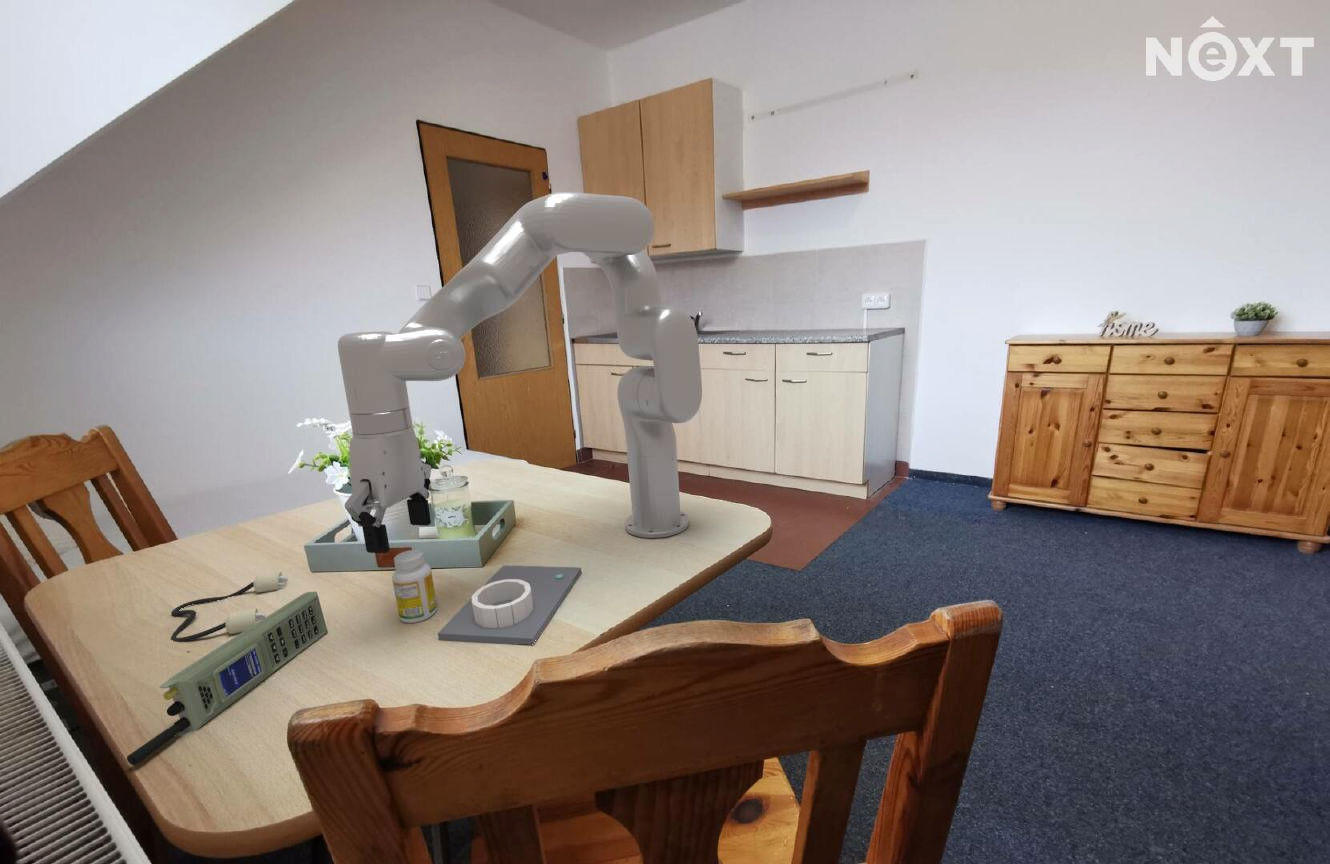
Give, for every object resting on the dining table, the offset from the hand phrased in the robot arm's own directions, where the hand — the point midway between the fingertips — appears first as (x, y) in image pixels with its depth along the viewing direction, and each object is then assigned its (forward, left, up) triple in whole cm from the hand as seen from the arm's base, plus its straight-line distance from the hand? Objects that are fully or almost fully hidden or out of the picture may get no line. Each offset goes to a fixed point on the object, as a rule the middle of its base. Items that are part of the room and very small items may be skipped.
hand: (400, 537), depth 82 cm
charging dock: (-4, +14, -13) cm, 20 cm away
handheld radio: (+18, -12, -13) cm, 25 cm away
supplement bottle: (0, 0, -13) cm, 13 cm away
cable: (+3, -32, -13) cm, 35 cm away
